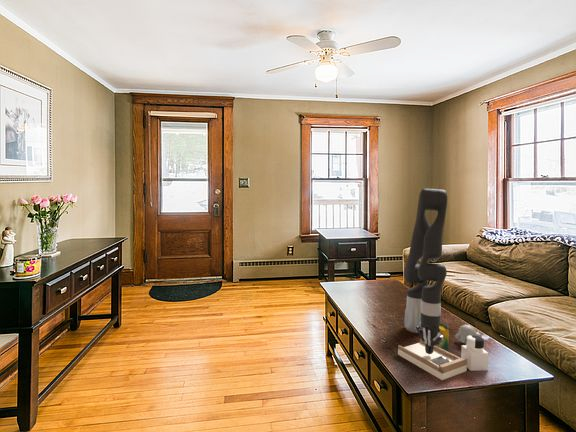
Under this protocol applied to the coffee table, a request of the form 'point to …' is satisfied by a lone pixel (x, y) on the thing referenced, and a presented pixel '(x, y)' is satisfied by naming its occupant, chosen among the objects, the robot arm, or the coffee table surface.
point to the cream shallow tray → (433, 360)
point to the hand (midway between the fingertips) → (429, 353)
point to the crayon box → (444, 332)
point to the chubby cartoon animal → (466, 333)
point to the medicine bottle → (475, 353)
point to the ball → (441, 360)
